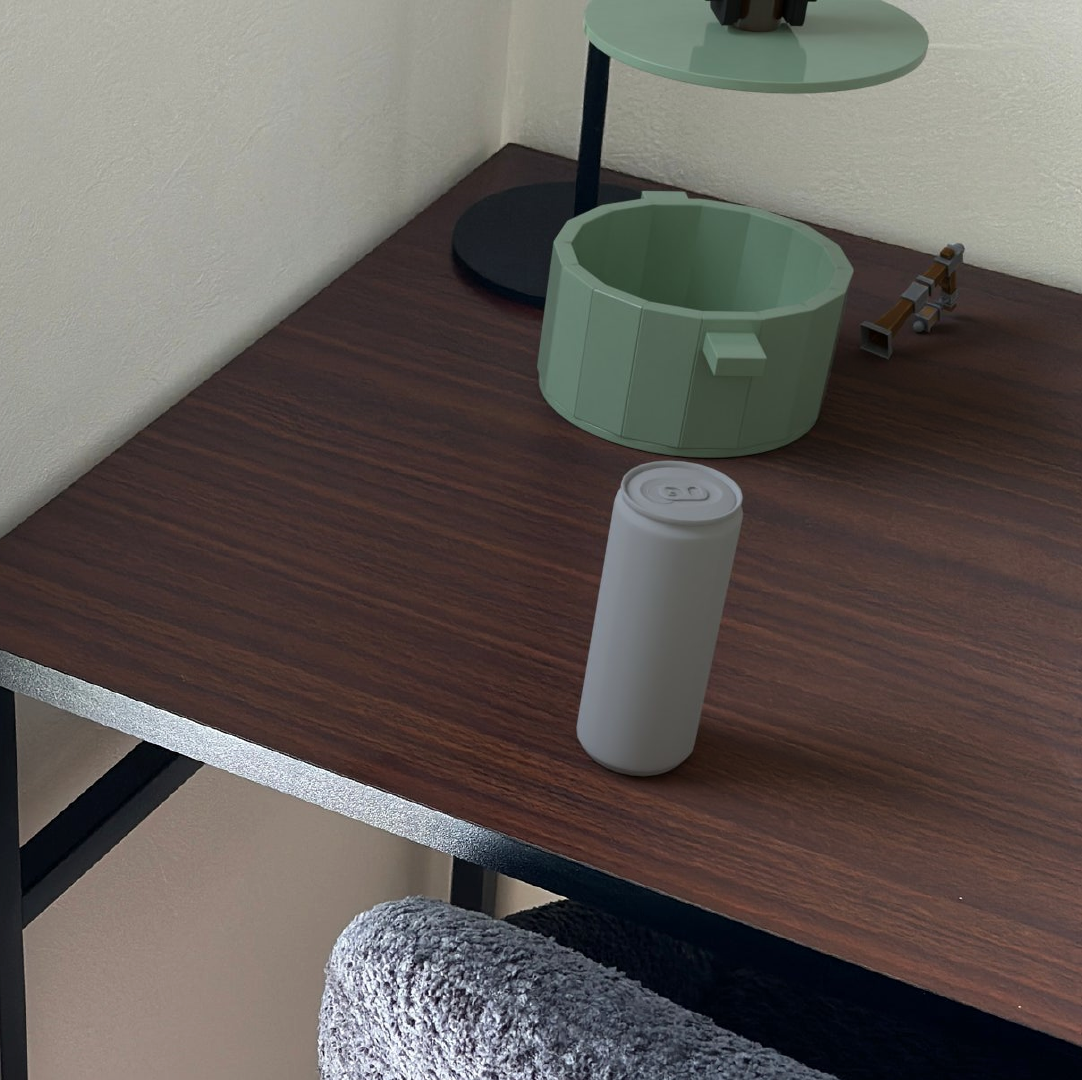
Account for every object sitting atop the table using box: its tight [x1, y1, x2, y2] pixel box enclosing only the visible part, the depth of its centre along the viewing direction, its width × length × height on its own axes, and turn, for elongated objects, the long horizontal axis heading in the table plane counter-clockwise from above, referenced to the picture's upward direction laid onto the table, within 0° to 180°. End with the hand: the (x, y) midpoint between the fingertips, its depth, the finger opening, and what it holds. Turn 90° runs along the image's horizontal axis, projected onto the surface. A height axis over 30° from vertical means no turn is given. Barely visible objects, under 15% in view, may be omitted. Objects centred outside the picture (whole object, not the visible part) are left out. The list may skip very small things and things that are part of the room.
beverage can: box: [576, 460, 744, 777], centre depth 83 cm, size 5×5×12 cm
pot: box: [536, 190, 855, 459], centre depth 109 cm, size 15×20×8 cm
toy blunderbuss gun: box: [859, 242, 966, 360], centre depth 117 cm, size 2×8×4 cm, turn 133°
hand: (756, 13), depth 99 cm, fingers closed on lid, 2 cm apart
